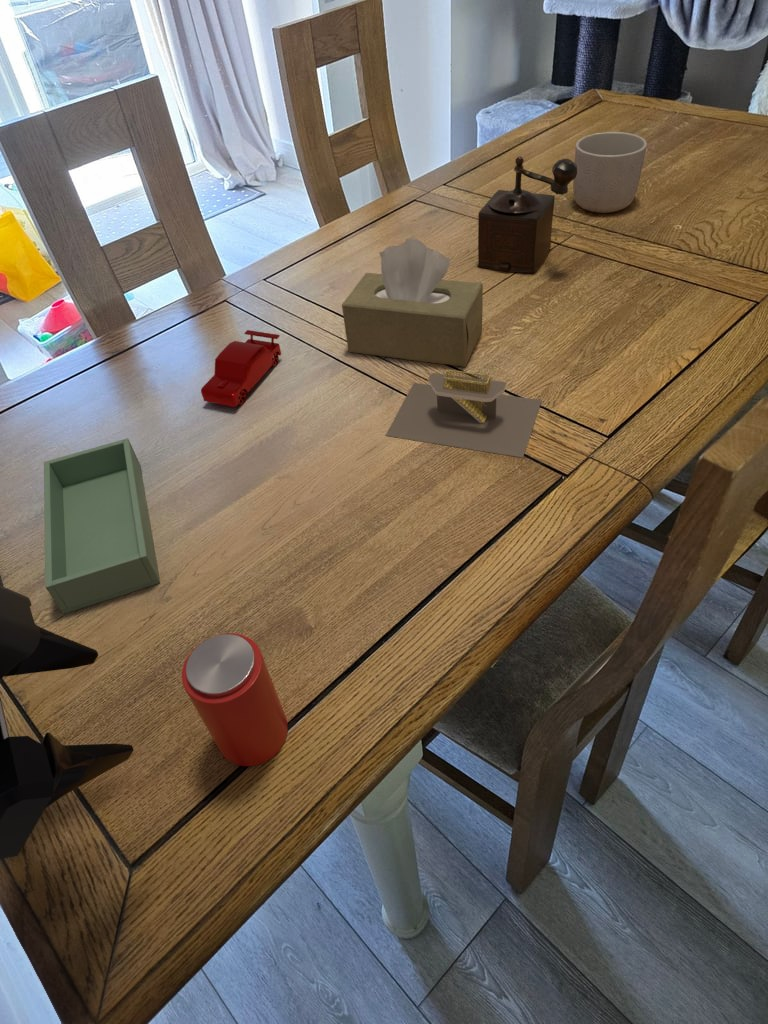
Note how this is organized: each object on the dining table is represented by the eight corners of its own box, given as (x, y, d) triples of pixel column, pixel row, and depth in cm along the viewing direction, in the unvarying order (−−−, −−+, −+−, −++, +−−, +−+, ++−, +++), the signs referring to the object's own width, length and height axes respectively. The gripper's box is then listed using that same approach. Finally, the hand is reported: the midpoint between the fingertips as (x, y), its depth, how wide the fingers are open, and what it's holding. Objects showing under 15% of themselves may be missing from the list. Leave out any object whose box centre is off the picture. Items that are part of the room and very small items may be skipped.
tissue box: (484, 332, 106) (485, 229, 94) (467, 368, 99) (466, 262, 88) (369, 319, 111) (357, 220, 100) (346, 352, 105) (331, 251, 94)
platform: (523, 457, 85) (526, 415, 80) (385, 435, 90) (380, 394, 86) (541, 400, 93) (545, 358, 88) (413, 382, 98) (411, 342, 93)
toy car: (253, 352, 107) (246, 324, 104) (285, 358, 105) (278, 329, 102) (204, 406, 99) (194, 377, 95) (238, 412, 97) (229, 383, 93)
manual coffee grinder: (474, 269, 120) (474, 158, 107) (495, 241, 126) (498, 134, 114) (563, 281, 114) (575, 166, 101) (580, 251, 121) (593, 139, 108)
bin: (63, 614, 74) (45, 587, 71) (59, 488, 89) (43, 461, 85) (160, 583, 76) (146, 555, 73) (140, 465, 91) (128, 437, 87)
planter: (648, 211, 130) (659, 148, 122) (585, 222, 128) (593, 160, 121) (618, 187, 138) (627, 127, 130) (559, 198, 137) (565, 138, 129)
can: (224, 777, 60) (185, 711, 52) (212, 714, 64) (174, 644, 56) (295, 750, 61) (268, 681, 53) (278, 690, 65) (251, 618, 57)
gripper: (-86, 733, 31) (210, 721, 42) (-115, 497, 43) (123, 538, 54) (-163, 892, 34) (131, 842, 45) (-170, 632, 46) (65, 644, 57)
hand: (112, 702), depth 50 cm, fingers open, 9 cm apart
